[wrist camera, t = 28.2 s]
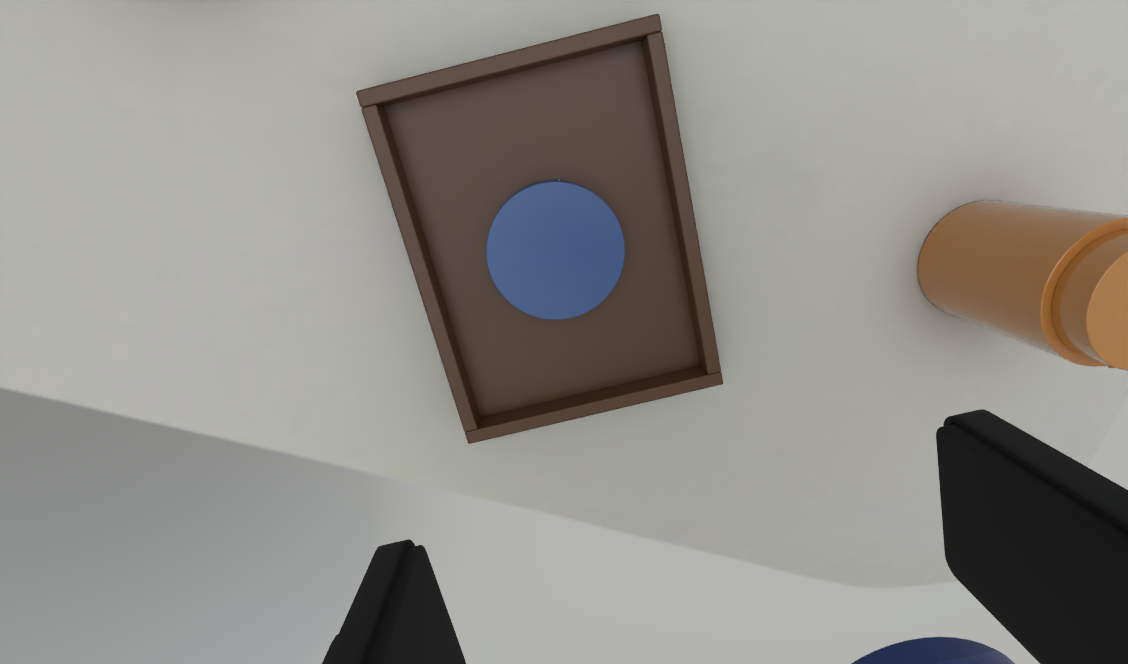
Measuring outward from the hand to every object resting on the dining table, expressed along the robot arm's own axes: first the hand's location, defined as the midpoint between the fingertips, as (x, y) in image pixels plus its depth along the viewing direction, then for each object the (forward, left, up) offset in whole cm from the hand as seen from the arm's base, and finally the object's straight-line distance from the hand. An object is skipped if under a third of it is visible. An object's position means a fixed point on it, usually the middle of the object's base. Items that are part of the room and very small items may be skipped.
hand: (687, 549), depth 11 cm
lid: (+3, +1, -19) cm, 19 cm away
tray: (+3, +1, -21) cm, 21 cm away
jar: (-3, -20, -21) cm, 29 cm away
